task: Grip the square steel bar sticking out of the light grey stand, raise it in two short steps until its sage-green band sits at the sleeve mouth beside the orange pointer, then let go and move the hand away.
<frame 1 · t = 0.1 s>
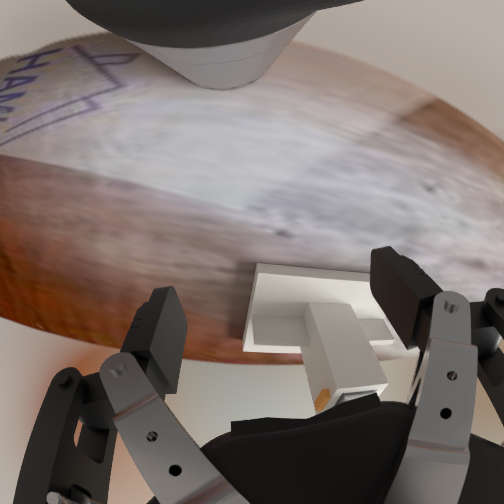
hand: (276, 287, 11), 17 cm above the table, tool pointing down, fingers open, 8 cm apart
steel bar: (345, 382, 24), point 11 cm above the table, slide at 0.0 cm
grey stand: (319, 310, 34), on the table
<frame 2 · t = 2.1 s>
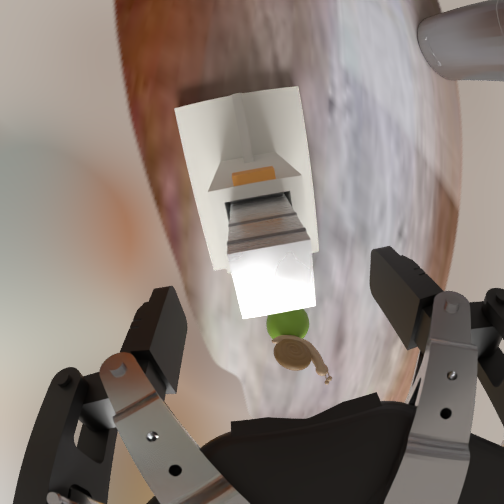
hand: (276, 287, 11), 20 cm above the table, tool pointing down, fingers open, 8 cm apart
steel bar: (259, 213, 19), point 11 cm above the table, slide at 0.0 cm
snail figurine: (288, 310, 37), on the table
grey stand: (251, 178, 29), on the table
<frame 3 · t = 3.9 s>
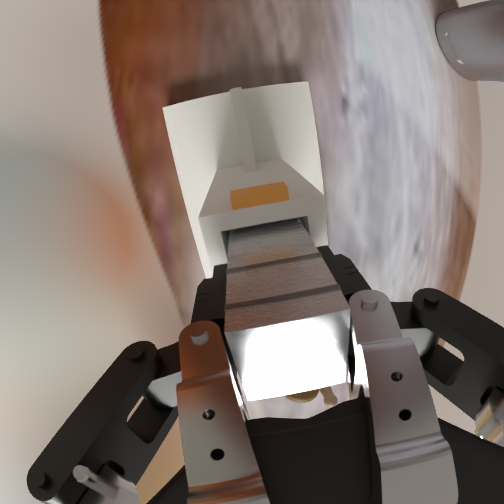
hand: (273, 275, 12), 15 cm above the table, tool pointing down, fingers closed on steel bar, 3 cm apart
steel bar: (265, 239, 15), point 11 cm above the table, slide at 0.0 cm, touching gripper
snail figurine: (292, 332, 34), on the table
grey stand: (253, 188, 25), on the table
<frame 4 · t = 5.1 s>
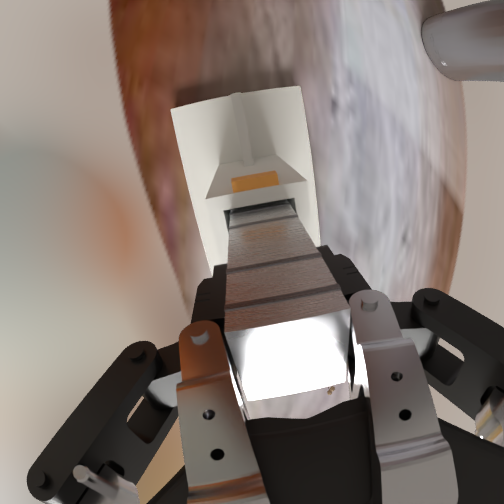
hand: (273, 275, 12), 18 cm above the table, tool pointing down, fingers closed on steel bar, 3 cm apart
steel bar: (265, 239, 15), point 14 cm above the table, slide at 2.9 cm, touching gripper
grey stand: (251, 182, 28), on the table
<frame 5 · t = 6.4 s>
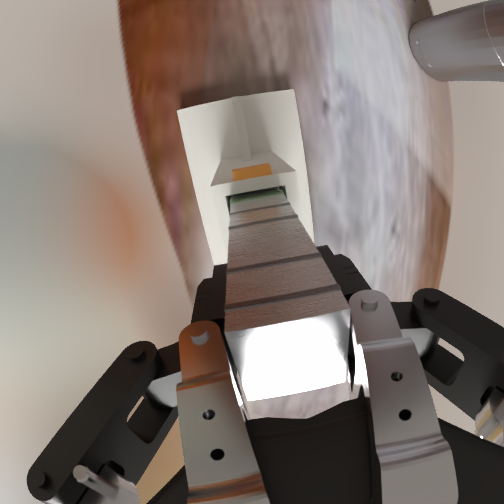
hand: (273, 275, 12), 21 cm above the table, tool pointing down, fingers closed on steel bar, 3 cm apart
steel bar: (265, 239, 15), point 17 cm above the table, slide at 5.9 cm, touching gripper
grey stand: (250, 177, 31), on the table
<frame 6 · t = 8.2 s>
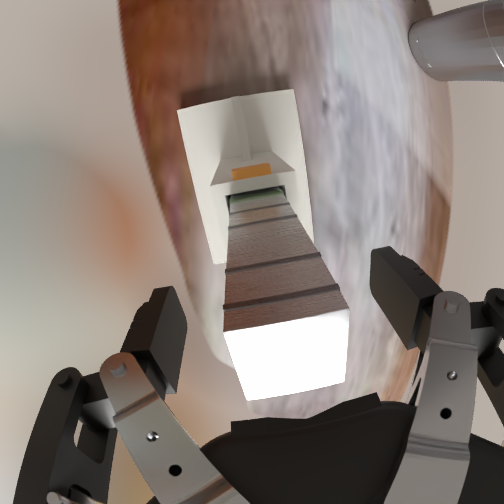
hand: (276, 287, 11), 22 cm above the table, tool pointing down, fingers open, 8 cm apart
steel bar: (265, 239, 15), point 17 cm above the table, slide at 6.0 cm
grey stand: (249, 176, 31), on the table
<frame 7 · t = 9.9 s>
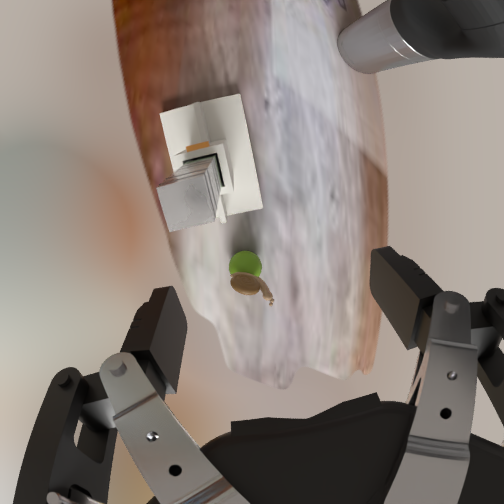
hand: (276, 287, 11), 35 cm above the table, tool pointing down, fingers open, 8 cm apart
steel bar: (199, 179, 26), point 17 cm above the table, slide at 6.0 cm
snail figurine: (247, 259, 49), on the table
grey stand: (212, 158, 41), on the table
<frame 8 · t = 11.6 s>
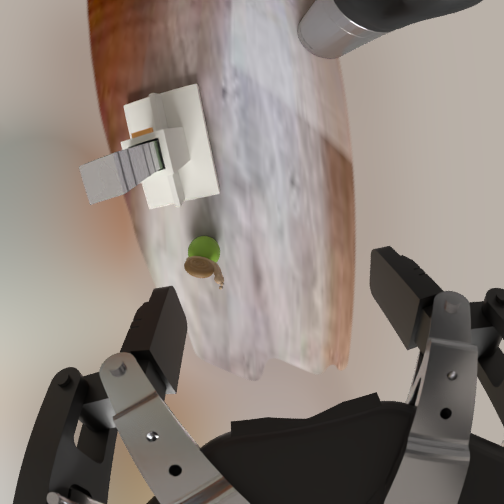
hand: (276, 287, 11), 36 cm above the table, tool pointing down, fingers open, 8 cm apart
steel bar: (136, 162, 26), point 17 cm above the table, slide at 6.0 cm
snail figurine: (208, 245, 50), on the table
grey stand: (172, 146, 41), on the table
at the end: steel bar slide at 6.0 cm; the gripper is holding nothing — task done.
